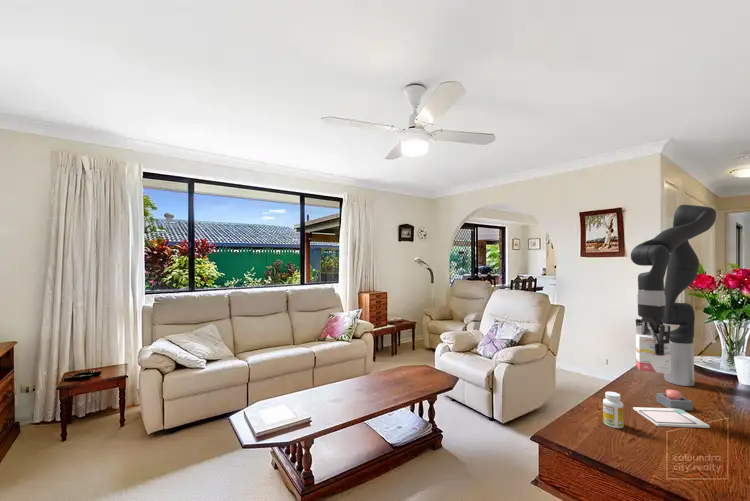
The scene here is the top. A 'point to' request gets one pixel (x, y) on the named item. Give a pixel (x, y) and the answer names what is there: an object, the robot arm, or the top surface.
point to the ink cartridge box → (651, 354)
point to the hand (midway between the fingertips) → (652, 352)
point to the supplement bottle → (613, 410)
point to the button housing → (674, 402)
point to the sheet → (670, 417)
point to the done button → (673, 394)
